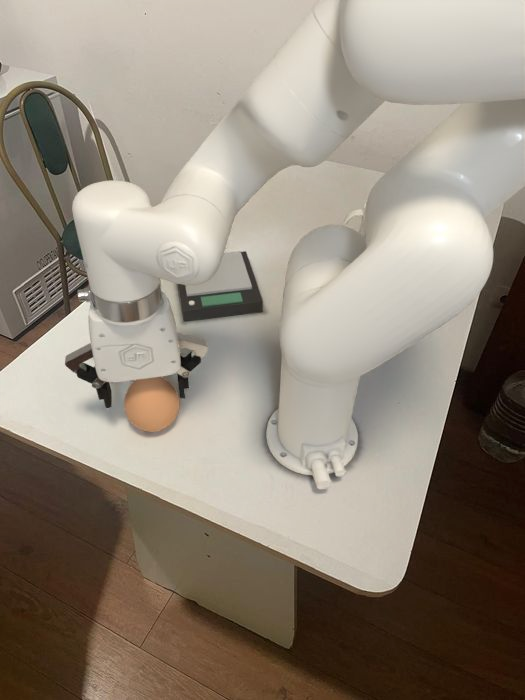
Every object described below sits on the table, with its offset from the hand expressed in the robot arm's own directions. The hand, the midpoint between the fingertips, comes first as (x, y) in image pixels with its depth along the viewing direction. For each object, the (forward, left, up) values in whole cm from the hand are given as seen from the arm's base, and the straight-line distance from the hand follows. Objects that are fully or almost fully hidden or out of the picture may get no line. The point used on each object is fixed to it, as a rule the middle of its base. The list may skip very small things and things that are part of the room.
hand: (145, 395), depth 69 cm
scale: (+29, -14, -6) cm, 32 cm away
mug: (+34, -47, -6) cm, 58 cm away
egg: (0, -1, -6) cm, 6 cm away
